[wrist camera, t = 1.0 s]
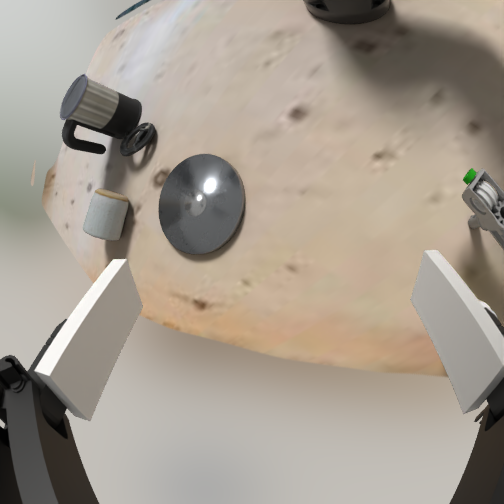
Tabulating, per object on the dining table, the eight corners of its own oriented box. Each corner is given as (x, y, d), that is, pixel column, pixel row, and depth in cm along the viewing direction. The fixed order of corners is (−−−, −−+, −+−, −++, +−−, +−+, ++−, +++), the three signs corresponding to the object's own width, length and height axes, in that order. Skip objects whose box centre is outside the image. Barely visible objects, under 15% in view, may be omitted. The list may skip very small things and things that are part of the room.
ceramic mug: (138, 199, 47) (105, 193, 40) (127, 242, 49) (93, 241, 42) (109, 187, 52) (79, 182, 45) (99, 225, 53) (69, 223, 46)
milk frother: (120, 103, 51) (68, 81, 38) (170, 89, 45) (113, 56, 31) (105, 162, 52) (48, 149, 39) (153, 158, 46) (86, 137, 32)
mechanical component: (490, 260, 25) (526, 264, 16) (439, 200, 28) (462, 182, 19) (502, 243, 24) (540, 241, 15) (452, 183, 27) (477, 160, 18)
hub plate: (167, 163, 44) (162, 161, 43) (247, 150, 38) (243, 147, 37) (161, 252, 45) (156, 252, 44) (243, 256, 39) (238, 256, 37)
